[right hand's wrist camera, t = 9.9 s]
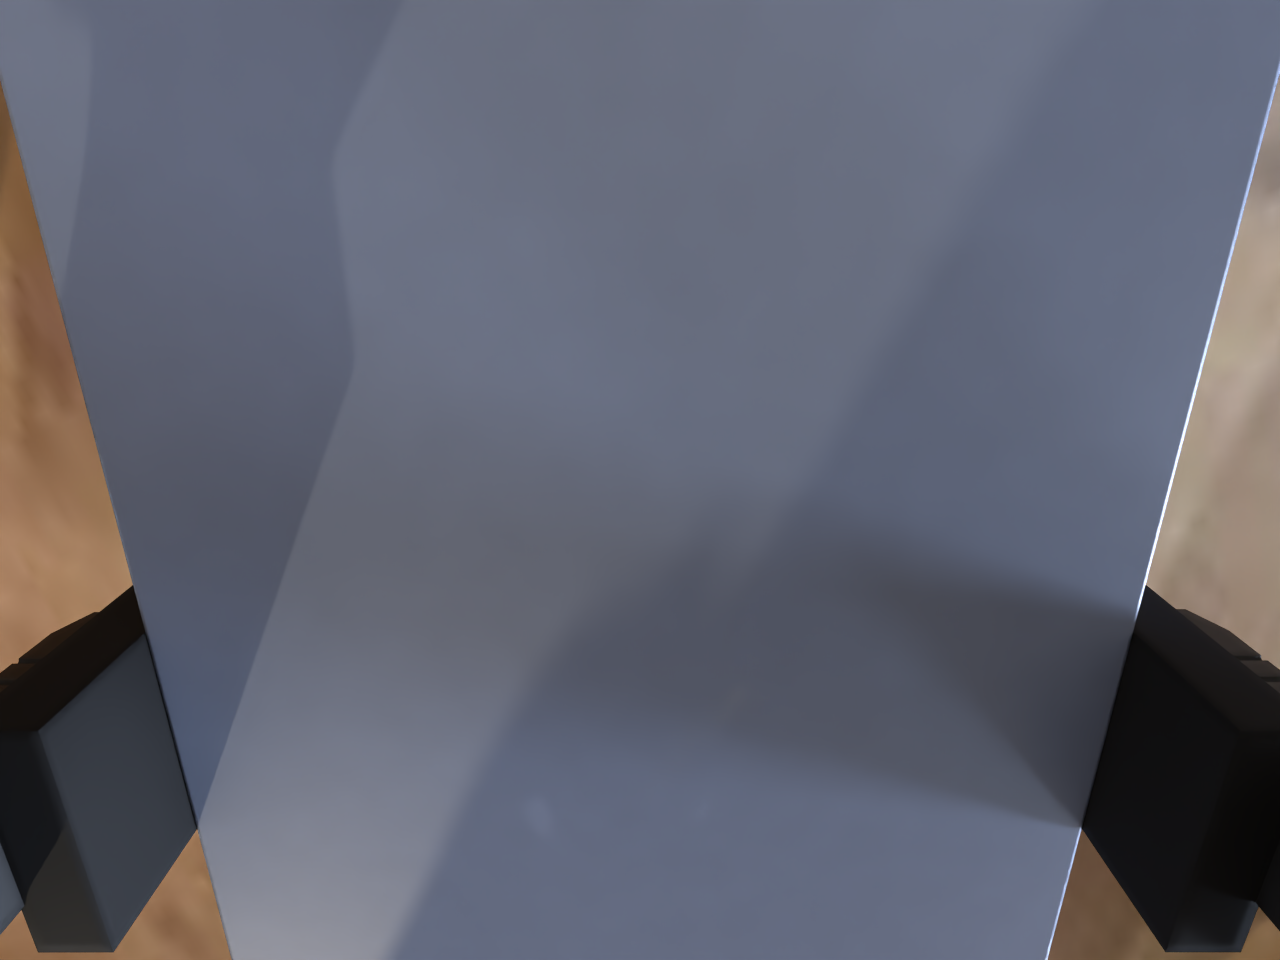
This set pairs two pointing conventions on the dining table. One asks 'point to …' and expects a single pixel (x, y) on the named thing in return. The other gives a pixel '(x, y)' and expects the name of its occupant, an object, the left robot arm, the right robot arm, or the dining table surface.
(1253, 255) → the dining table surface
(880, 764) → the cabinet
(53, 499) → the dining table surface
